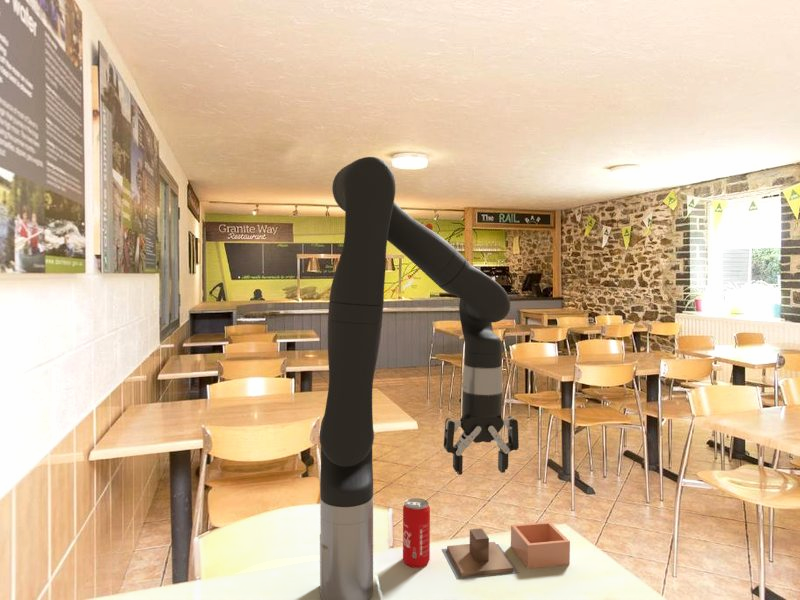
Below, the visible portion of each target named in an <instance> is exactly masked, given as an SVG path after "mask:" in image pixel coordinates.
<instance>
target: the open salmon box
mask: <svg viewBox="0 0 800 600" xmlns="http://www.w3.org/2000/svg"><path fill="white" fill-rule="evenodd" d="M510 547H511V549H512V550H513V551H514V552H515V554H516V555H517V556H518V557H519V559H520V560H521V561H522V563H523V564H524V565H525V567H526V568H527V569H534V568H535V569H536V568H545V567H547V568H548V567H555V566H565V565H570V563H571V562H570V559H571V558H570V557H571V556H570V555H571V541H570V539H568V538H567V537H566V536H565V535H564V534H563V532H561V531H560V530H559V529H558V528H557V527H556V526H555V525H554V524H553V523H552V522H551V521H542V522H532V523H519V524H511V525H510Z"/></svg>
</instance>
